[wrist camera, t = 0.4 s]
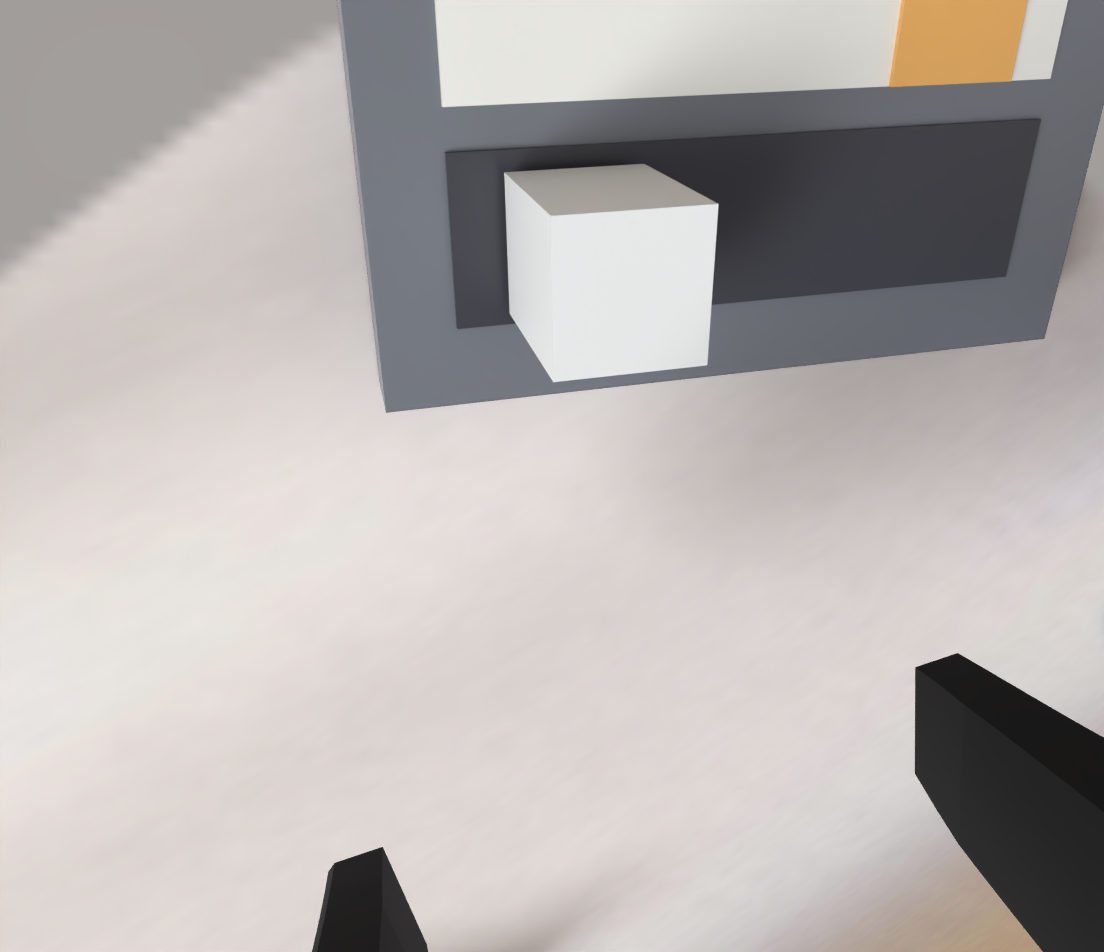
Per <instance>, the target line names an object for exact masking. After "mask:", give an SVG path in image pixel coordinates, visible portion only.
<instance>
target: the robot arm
mask: <svg viewBox="0 0 1104 952" xmlns="http://www.w3.org/2000/svg"><path fill="white" fill-rule="evenodd" d="M915 774H916V776H917V778H918V779H919V781H920V783H921V784H922V786H923V788H924V789H925V791H926V793H927V794H928V796H929V798H930V799H931V801H932V803H933V804H934V806H935V808H936V809H937V811H938V813H939V814H940V816H941V817H942V819H943V820H944V822H945V824H946V825H947V827H948V828H949V830H950V831H951V833H952V835H953V836H954V838H955V839H956V841H957V842H958V844H959V845H960V847H961V848H962V849H963V851H964V852H965V853H966V854H967V856H968V857H969V858H970V860H971V861H972V862H973V864H974V865H975V866H976V867H977V869H978V870H979V871H980V873H981V874H982V875H983V876H984V878H985V879H986V880H987V881H988V883H989V884H990V885H991V887H992V888H993V889H994V890H995V892H996V893H997V894H998V896H999V897H1000V898H1001V899H1002V901H1003V902H1004V903H1005V904H1006V906H1007V907H1008V908H1009V909H1010V911H1011V912H1012V913H1013V915H1014V916H1015V917H1016V918H1017V920H1018V921H1019V922H1020V923H1021V925H1022V926H1023V927H1024V928H1025V930H1026V931H1027V932H1028V933H1029V935H1030V936H1031V937H1032V939H1033V940H1034V941H1035V942H1036V944H1037V945H1038V946H1039V947H1040V949H1041V950H1042V951H1043V952H1104V737H1102V736H1100V735H1098V734H1096V733H1095V732H1093V731H1091V730H1089V729H1087V728H1086V727H1084V726H1082V725H1080V724H1079V723H1077V722H1075V721H1073V720H1072V719H1070V718H1068V717H1066V716H1065V715H1063V714H1061V713H1059V712H1058V711H1056V710H1054V709H1052V708H1051V707H1049V706H1047V705H1046V704H1044V703H1042V702H1040V701H1039V700H1037V699H1035V698H1034V697H1032V696H1030V695H1028V694H1027V693H1025V692H1023V691H1022V690H1020V689H1018V688H1016V687H1015V686H1013V685H1011V684H1010V683H1008V682H1006V681H1005V680H1003V679H1001V678H999V677H998V676H996V675H994V674H993V673H991V672H989V671H988V670H986V669H984V668H982V667H981V666H979V665H977V664H976V663H974V662H972V661H970V660H969V659H967V658H965V657H963V656H962V655H960V654H958V653H957V654H954V655H951V656H948V657H945V658H942V659H939V660H936V661H933V662H930V663H927V664H924V665H921V666H918V667H916V669H915ZM312 952H428V949H427V944H426V942H425V940H424V937H423V935H422V933H421V931H420V929H419V926H418V924H417V922H416V920H415V917H414V915H413V913H412V911H411V909H410V906H409V904H408V902H407V900H406V898H405V895H404V893H403V891H402V889H401V887H400V884H399V882H398V880H397V878H396V875H395V873H394V871H393V869H392V867H391V864H390V862H389V860H388V858H387V856H386V853H385V851H384V849H383V847H381V848H378V849H375V850H372V851H369V852H366V853H363V854H360V855H357V856H354V857H351V858H348V859H345V860H342V861H339V862H336V863H334V865H333V866H332V868H331V869H330V870H329V872H328V877H327V883H326V889H325V894H324V899H323V904H322V909H321V914H320V919H319V924H318V928H317V933H316V937H315V941H314V946H313V950H312Z"/></svg>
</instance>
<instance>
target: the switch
mask: <svg viewBox="0 0 1104 952" xmlns="http://www.w3.org/2000/svg"><path fill="white" fill-rule="evenodd" d="M504 179H505V205H506V231H507V257H508V284H509V310H510V315H511V317H512V318H513V320H514V321H515V323H516V324H517V326H518V328H519V329H520V331H521V332H522V334H523V335H524V337H525V339H526V340H527V342H528V343H529V345H530V346H531V348H532V350H533V351H534V353H535V354H536V356H537V357H538V359H539V361H540V362H541V364H542V365H543V367H544V368H545V370H546V372H547V373H548V375H549V376H550V378H551V379H552V381H553V382H560V381H569V380H578V379H588V378H597V377H606V376H615V375H624V374H633V373H642V372H651V371H660V370H670V369H679V368H688V367H697V366H706V365H707V362H708V347H709V333H710V319H711V305H712V291H713V276H714V262H715V248H716V234H717V219H718V205H719V204H718V203H716V202H714V201H712V200H710V199H709V198H707V197H705V196H703V195H701V194H699V193H697V192H696V191H694V190H692V189H690V188H688V187H686V186H684V185H683V184H681V183H679V182H677V181H675V180H673V179H671V178H670V177H668V176H666V175H664V174H662V173H660V172H659V171H657V170H655V169H653V168H651V167H649V166H647V165H646V164H631V165H615V166H599V167H583V168H566V169H550V170H534V171H518V172H504Z"/></svg>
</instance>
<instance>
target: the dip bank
mask: <svg viewBox="0 0 1104 952" xmlns="http://www.w3.org/2000/svg"><path fill="white" fill-rule="evenodd" d="M337 7H338V16H339V25H340V34H341V43H342V52H343V60H344V69H345V78H346V87H347V96H348V105H349V114H350V123H351V132H352V141H353V150H354V158H355V167H356V176H357V185H358V194H359V203H360V212H361V221H362V230H363V239H364V247H365V256H366V265H367V274H368V283H369V292H370V301H371V310H372V319H373V328H374V336H375V345H376V354H377V363H378V372H379V381H380V386H381V391H382V396H383V400H384V405H385V410H386V413H387V412H396V411H405V410H414V409H423V408H432V407H441V406H449V405H458V404H467V403H476V402H485V401H494V400H503V399H512V398H521V397H530V396H538V395H547V394H556V393H565V392H574V391H583V390H592V389H601V388H610V387H619V386H628V385H636V384H645V383H654V382H663V381H672V380H681V379H690V378H699V377H708V376H717V375H725V374H734V373H743V372H752V371H761V370H770V369H779V368H788V367H797V366H806V365H815V364H823V363H832V362H841V361H850V360H859V359H868V358H877V357H886V356H895V355H904V354H912V353H921V352H930V351H939V350H948V349H957V348H966V347H975V346H984V345H993V344H1002V343H1010V342H1019V341H1028V340H1037V339H1044V338H1045V334H1046V330H1047V326H1048V322H1049V318H1050V314H1051V310H1052V306H1053V302H1054V298H1055V295H1056V291H1057V287H1058V283H1059V279H1060V275H1061V271H1062V267H1063V263H1064V259H1065V255H1066V251H1067V247H1068V243H1069V239H1070V235H1071V231H1072V227H1073V223H1074V220H1075V216H1076V212H1077V208H1078V204H1079V200H1080V196H1081V192H1082V188H1083V184H1084V180H1085V176H1086V172H1087V168H1088V164H1089V160H1090V156H1091V152H1092V148H1093V144H1094V141H1095V137H1096V133H1097V129H1098V125H1099V121H1100V117H1101V113H1102V109H1103V105H1104V0H337ZM631 164H646V165H647V166H649V167H651V168H653V169H655V170H657V171H659V172H660V173H662V174H664V175H666V176H668V177H670V178H671V179H673V180H675V181H677V182H679V183H681V184H683V185H684V186H686V187H688V188H690V189H692V190H694V191H696V192H697V193H699V194H701V195H703V196H705V197H707V198H709V199H710V200H712V201H714V202H716V203H718V204H719V205H718V219H717V234H716V248H715V262H714V276H713V291H712V305H711V319H710V333H709V347H708V362H707V365H706V366H697V367H688V368H679V369H670V370H660V371H651V372H642V373H633V374H624V375H615V376H606V377H597V378H588V379H578V380H569V381H560V382H553V381H552V379H551V378H550V376H549V375H548V373H547V372H546V370H545V368H544V367H543V365H542V364H541V362H540V361H539V359H538V357H537V356H536V354H535V353H534V351H533V350H532V348H531V346H530V345H529V343H528V342H527V340H526V339H525V337H524V335H523V334H522V332H521V331H520V329H519V328H518V326H517V324H516V323H515V321H514V320H513V318H512V317H511V315H510V310H509V284H508V257H507V231H506V205H505V179H504V172H518V171H534V170H550V169H566V168H583V167H599V166H615V165H631Z"/></svg>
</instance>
